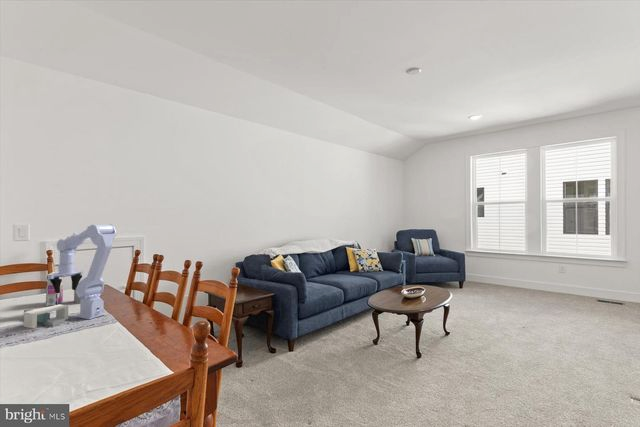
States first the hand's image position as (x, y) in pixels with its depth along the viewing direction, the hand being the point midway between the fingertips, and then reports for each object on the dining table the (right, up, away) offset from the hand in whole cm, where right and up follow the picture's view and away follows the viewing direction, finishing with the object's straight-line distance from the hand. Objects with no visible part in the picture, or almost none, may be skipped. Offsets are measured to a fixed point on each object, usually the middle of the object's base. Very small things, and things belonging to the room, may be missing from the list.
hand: (66, 291), depth 164 cm
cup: (-5, -10, +19) cm, 22 cm away
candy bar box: (-16, -10, +14) cm, 23 cm away
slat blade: (-3, -10, -13) cm, 17 cm away
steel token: (+9, -10, -19) cm, 23 cm away
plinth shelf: (+4, -10, -17) cm, 20 cm away
